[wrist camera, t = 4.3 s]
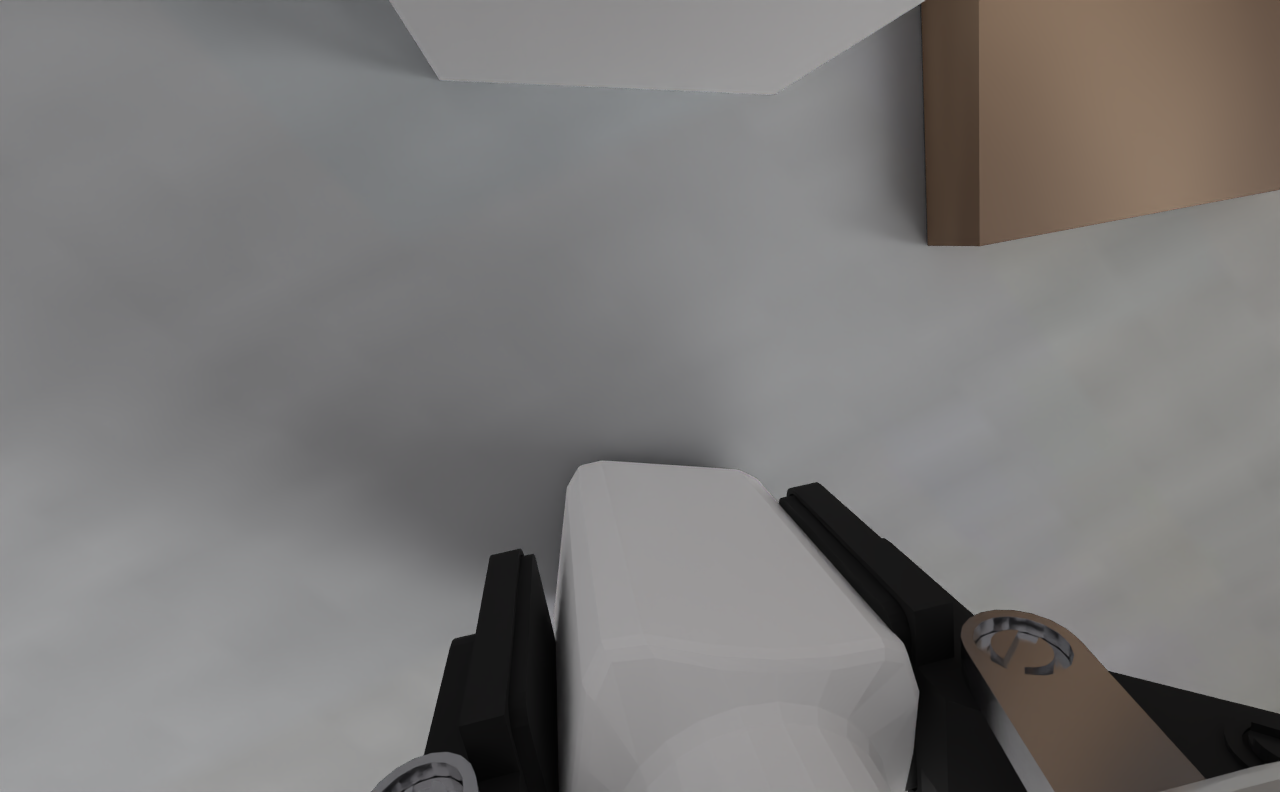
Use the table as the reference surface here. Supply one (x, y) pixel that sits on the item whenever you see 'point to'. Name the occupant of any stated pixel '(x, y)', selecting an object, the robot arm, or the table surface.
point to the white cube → (641, 40)
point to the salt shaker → (716, 645)
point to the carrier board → (1093, 111)
